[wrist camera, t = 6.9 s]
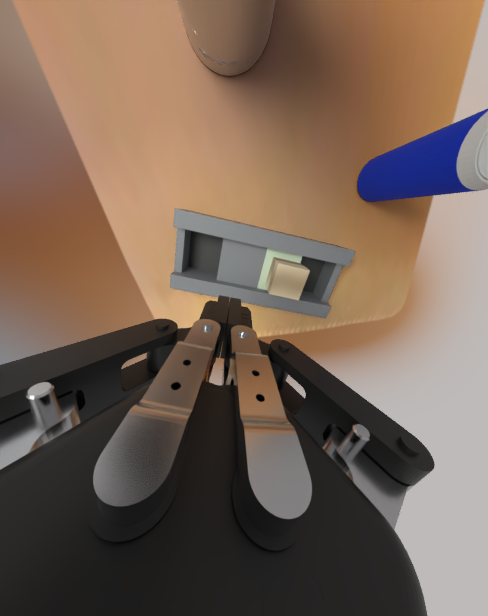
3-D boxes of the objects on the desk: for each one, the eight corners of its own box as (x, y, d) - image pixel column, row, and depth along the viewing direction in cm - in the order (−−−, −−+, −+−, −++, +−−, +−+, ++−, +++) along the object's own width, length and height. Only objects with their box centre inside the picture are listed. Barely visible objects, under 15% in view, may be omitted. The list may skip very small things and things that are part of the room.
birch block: (273, 256, 27) (278, 263, 23) (300, 263, 27) (310, 270, 24) (265, 284, 28) (268, 293, 25) (291, 289, 29) (298, 300, 25)
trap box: (186, 209, 28) (174, 208, 23) (336, 245, 30) (355, 251, 25) (180, 276, 32) (169, 288, 27) (313, 303, 34) (325, 318, 29)
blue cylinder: (400, 182, 27) (564, 148, 13) (365, 210, 28) (481, 205, 15) (384, 146, 25) (553, 65, 11) (348, 178, 26) (461, 138, 13)
